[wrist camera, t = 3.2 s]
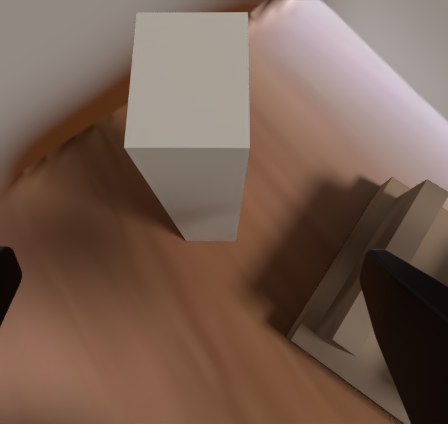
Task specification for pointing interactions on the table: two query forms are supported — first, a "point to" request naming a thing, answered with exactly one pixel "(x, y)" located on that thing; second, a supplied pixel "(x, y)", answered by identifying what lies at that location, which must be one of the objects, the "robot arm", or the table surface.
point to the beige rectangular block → (192, 117)
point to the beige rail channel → (352, 292)
